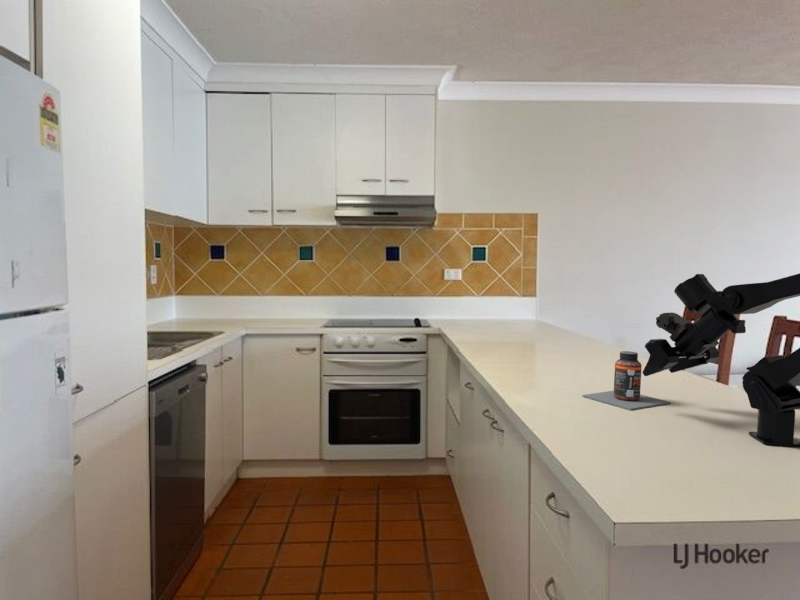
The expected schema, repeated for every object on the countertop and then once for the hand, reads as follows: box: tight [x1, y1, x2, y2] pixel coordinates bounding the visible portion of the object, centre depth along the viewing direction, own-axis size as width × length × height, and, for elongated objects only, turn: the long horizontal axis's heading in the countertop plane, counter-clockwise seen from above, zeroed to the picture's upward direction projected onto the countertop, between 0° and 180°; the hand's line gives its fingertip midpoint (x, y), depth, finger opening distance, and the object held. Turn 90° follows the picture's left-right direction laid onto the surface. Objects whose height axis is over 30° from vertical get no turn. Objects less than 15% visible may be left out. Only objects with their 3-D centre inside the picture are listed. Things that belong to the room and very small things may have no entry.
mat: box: [581, 390, 671, 411], centre depth 132 cm, size 14×14×1 cm
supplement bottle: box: [613, 350, 643, 401], centre depth 132 cm, size 6×6×11 cm
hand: (657, 372), depth 125 cm, fingers open, 9 cm apart
